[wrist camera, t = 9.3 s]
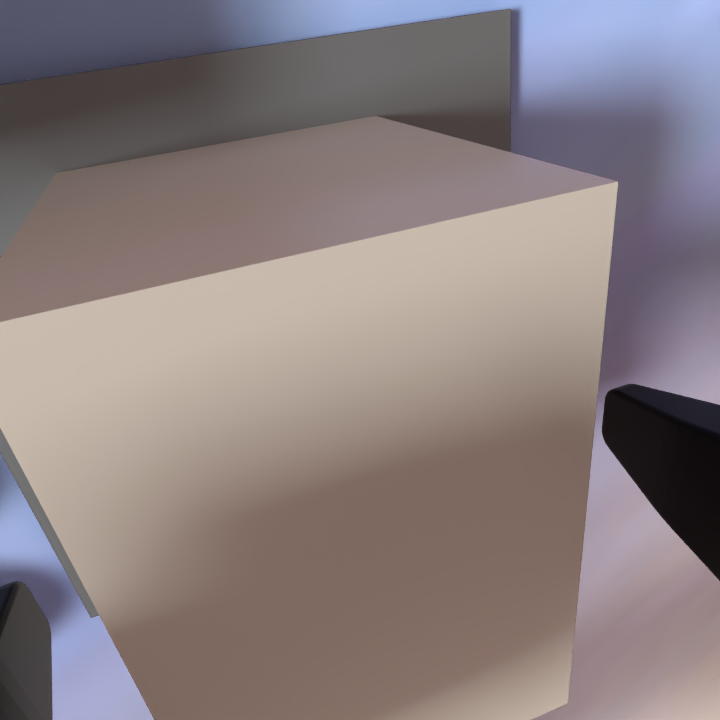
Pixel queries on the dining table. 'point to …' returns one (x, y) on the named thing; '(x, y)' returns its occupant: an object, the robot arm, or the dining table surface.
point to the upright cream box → (317, 417)
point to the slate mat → (247, 115)
